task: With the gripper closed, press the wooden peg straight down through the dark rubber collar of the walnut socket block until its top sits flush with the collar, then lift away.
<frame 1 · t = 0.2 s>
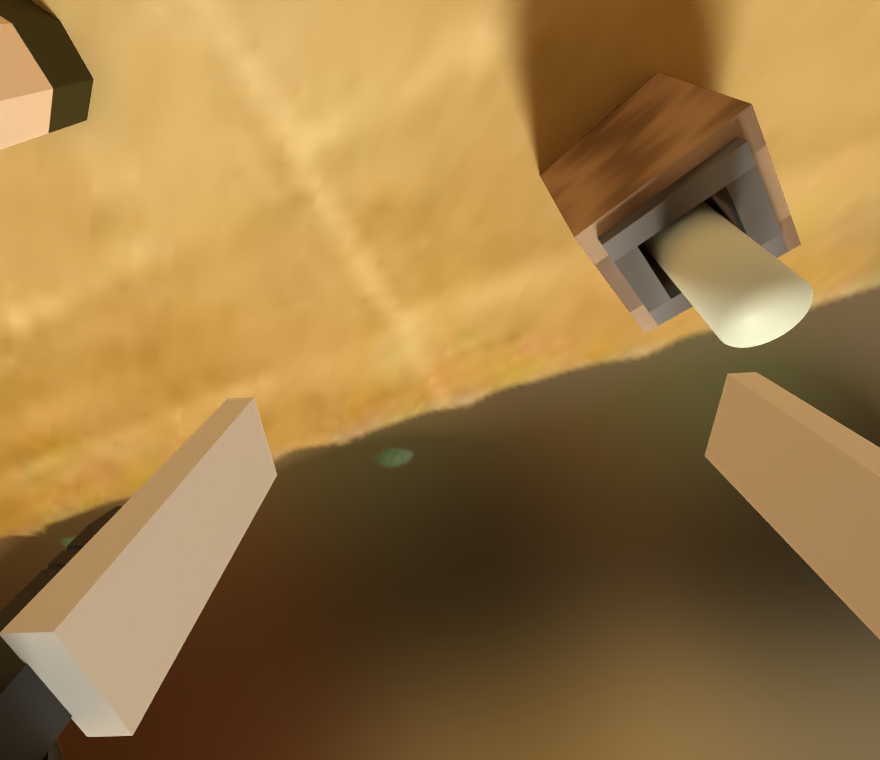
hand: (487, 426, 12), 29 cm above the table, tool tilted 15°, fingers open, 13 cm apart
peg: (703, 255, 24), point 14 cm above the table, slide at 0.0 cm
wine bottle: (29, 59, 29), on the table
socket block: (624, 178, 34), on the table
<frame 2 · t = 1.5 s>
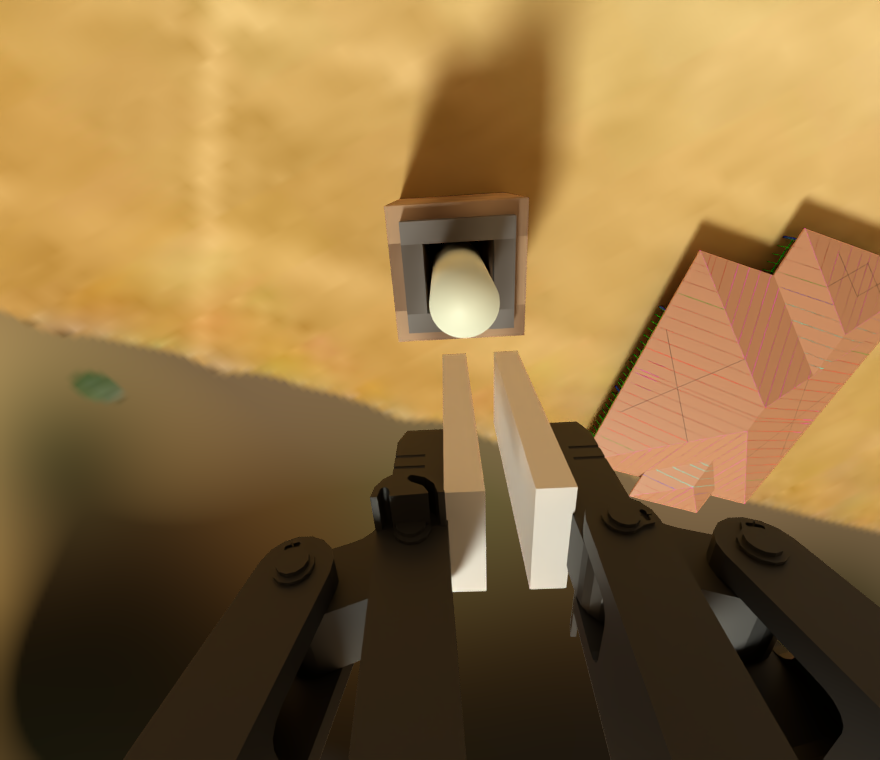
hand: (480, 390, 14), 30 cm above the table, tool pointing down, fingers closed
peg: (460, 281, 29), point 14 cm above the table, slide at 0.0 cm
house: (711, 376, 48), on the table
socket block: (454, 250, 41), on the table
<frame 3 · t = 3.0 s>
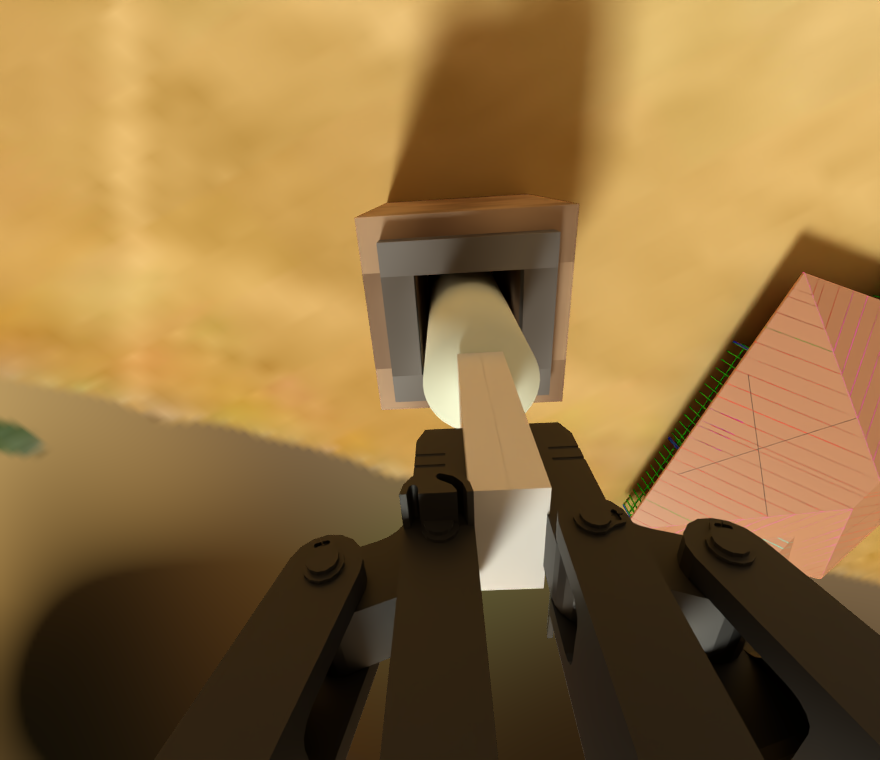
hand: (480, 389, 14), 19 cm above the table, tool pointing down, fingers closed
peg: (470, 326, 19), point 13 cm above the table, slide at 0.9 cm, touching gripper
house: (789, 426, 38), on the table
socket block: (459, 269, 31), on the table
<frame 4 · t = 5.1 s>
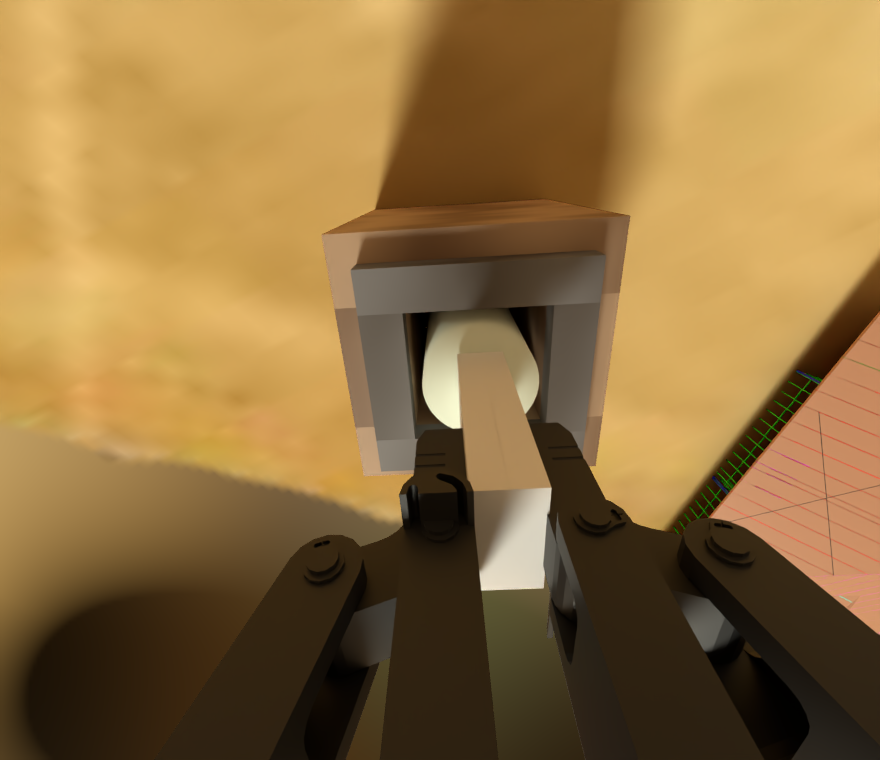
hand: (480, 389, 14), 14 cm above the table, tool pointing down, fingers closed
peg: (469, 327, 19), point 8 cm above the table, slide at 6.4 cm, touching gripper
house: (851, 465, 33), on the table
socket block: (462, 288, 26), on the table
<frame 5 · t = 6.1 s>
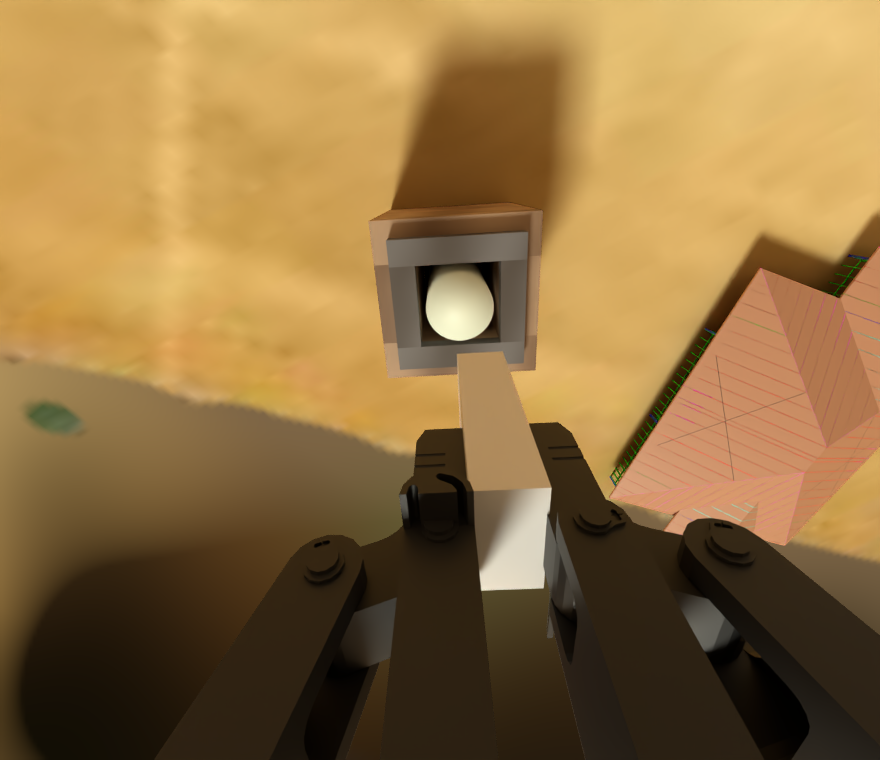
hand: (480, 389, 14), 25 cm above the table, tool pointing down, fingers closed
peg: (455, 285, 29), point 8 cm above the table, slide at 6.4 cm
house: (755, 406, 43), on the table
socket block: (452, 266, 36), on the table
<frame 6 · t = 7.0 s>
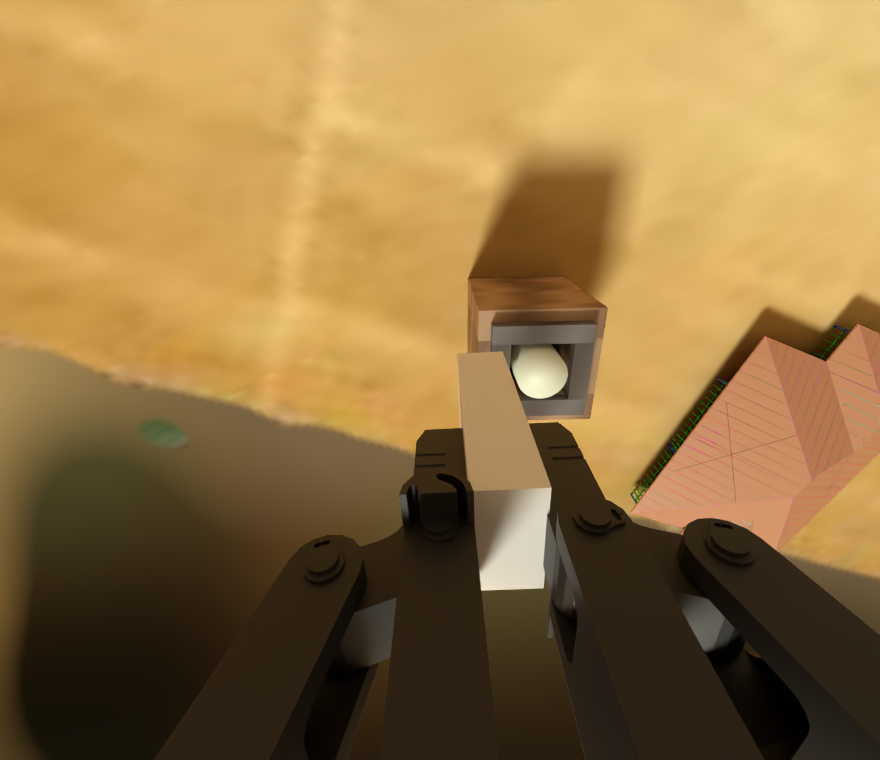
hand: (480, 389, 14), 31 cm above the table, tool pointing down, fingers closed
peg: (527, 348, 38), point 8 cm above the table, slide at 6.4 cm
house: (754, 440, 52), on the table
socket block: (513, 323, 45), on the table
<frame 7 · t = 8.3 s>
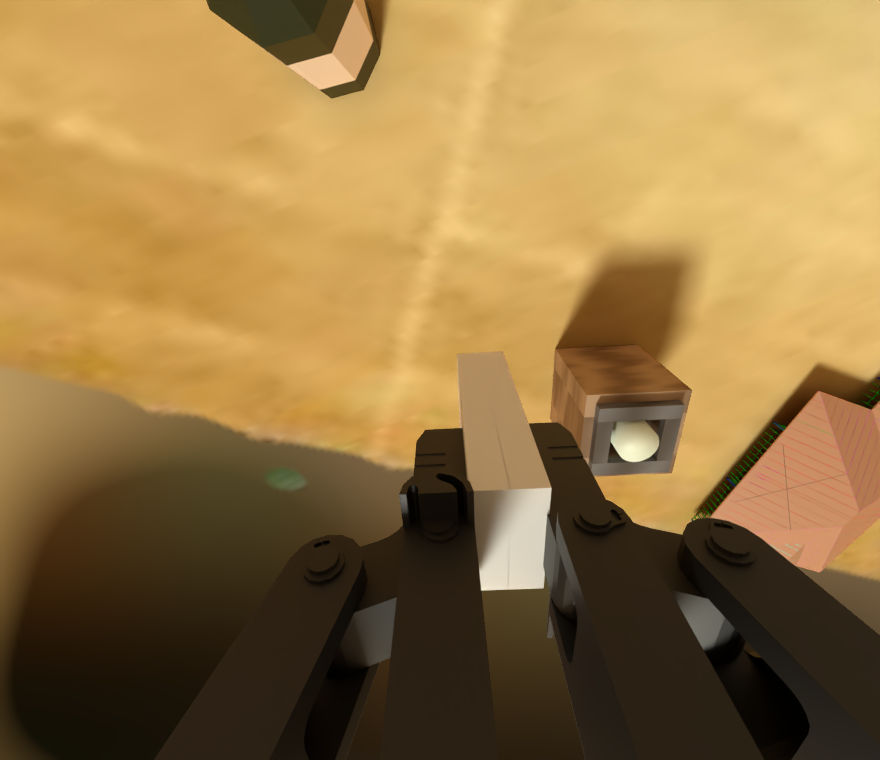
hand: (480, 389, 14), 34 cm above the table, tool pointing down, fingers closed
peg: (614, 413, 45), point 8 cm above the table, slide at 6.4 cm
house: (803, 472, 59), on the table
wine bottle: (335, 44, 37), on the table
socket block: (592, 383, 52), on the table
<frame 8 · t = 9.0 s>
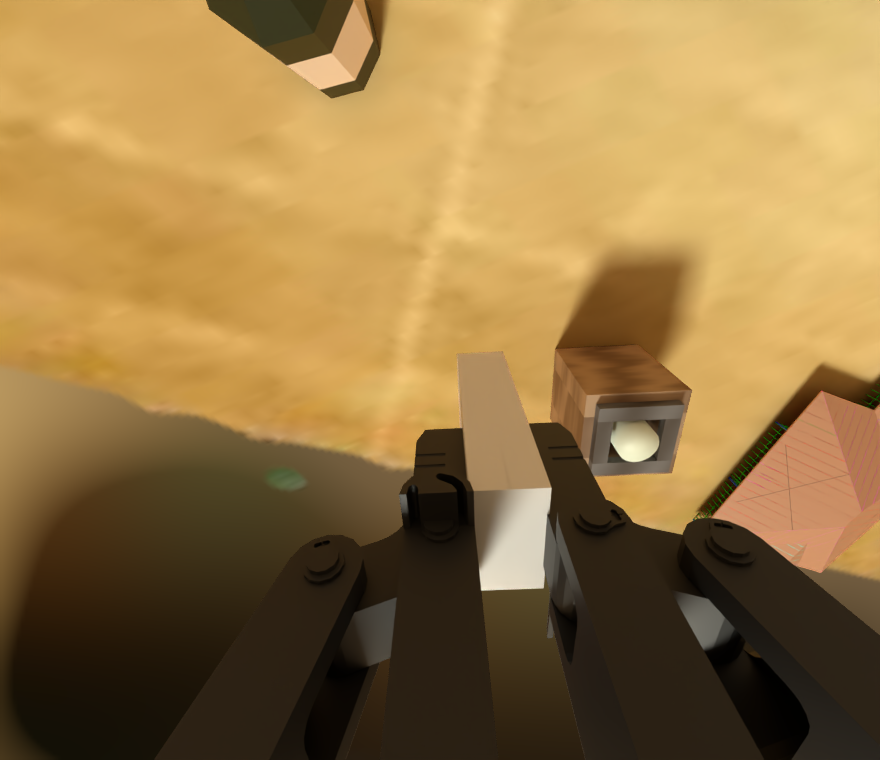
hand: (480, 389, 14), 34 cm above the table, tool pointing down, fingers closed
peg: (614, 413, 45), point 8 cm above the table, slide at 6.4 cm
house: (805, 472, 59), on the table
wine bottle: (335, 44, 37), on the table
socket block: (592, 383, 52), on the table
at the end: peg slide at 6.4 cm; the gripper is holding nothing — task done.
